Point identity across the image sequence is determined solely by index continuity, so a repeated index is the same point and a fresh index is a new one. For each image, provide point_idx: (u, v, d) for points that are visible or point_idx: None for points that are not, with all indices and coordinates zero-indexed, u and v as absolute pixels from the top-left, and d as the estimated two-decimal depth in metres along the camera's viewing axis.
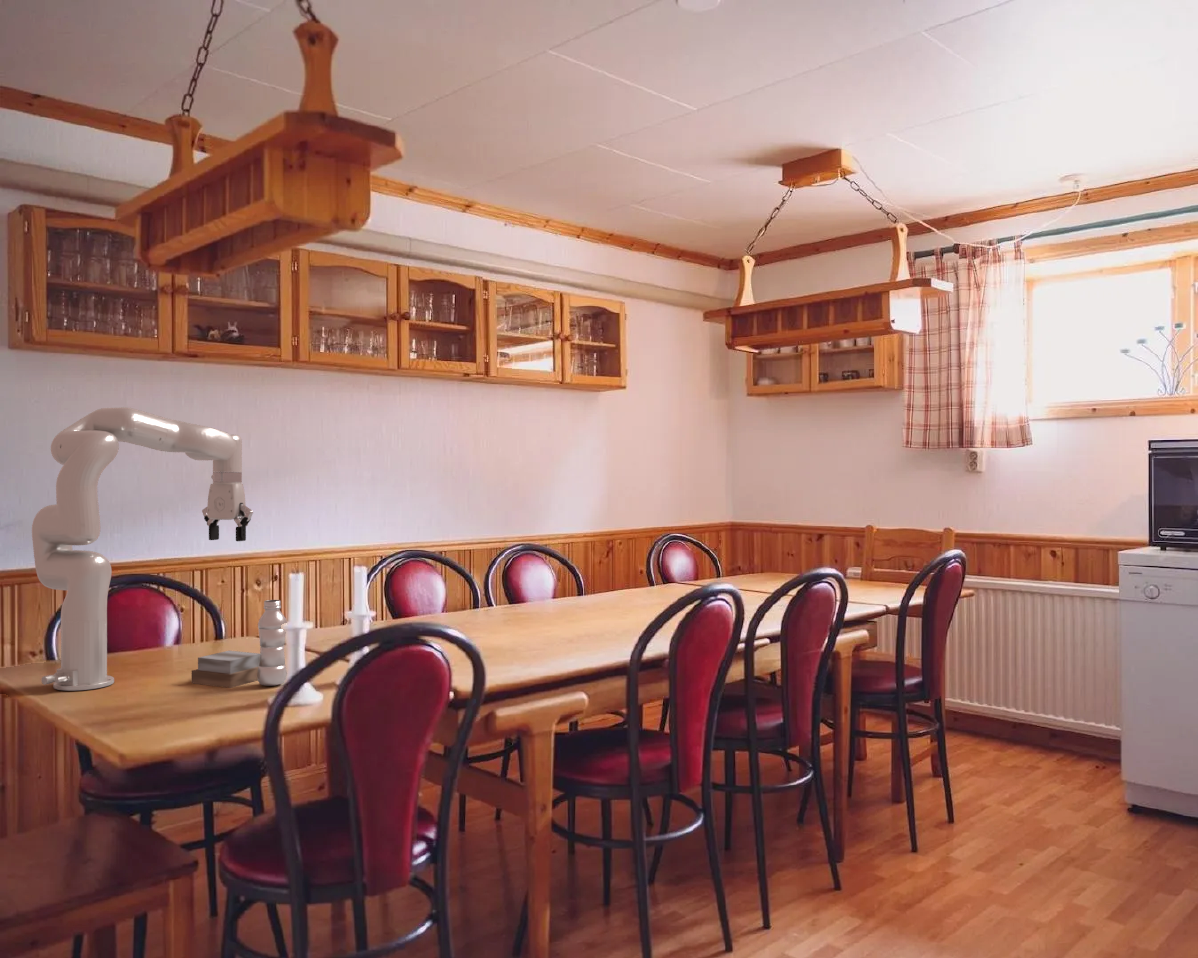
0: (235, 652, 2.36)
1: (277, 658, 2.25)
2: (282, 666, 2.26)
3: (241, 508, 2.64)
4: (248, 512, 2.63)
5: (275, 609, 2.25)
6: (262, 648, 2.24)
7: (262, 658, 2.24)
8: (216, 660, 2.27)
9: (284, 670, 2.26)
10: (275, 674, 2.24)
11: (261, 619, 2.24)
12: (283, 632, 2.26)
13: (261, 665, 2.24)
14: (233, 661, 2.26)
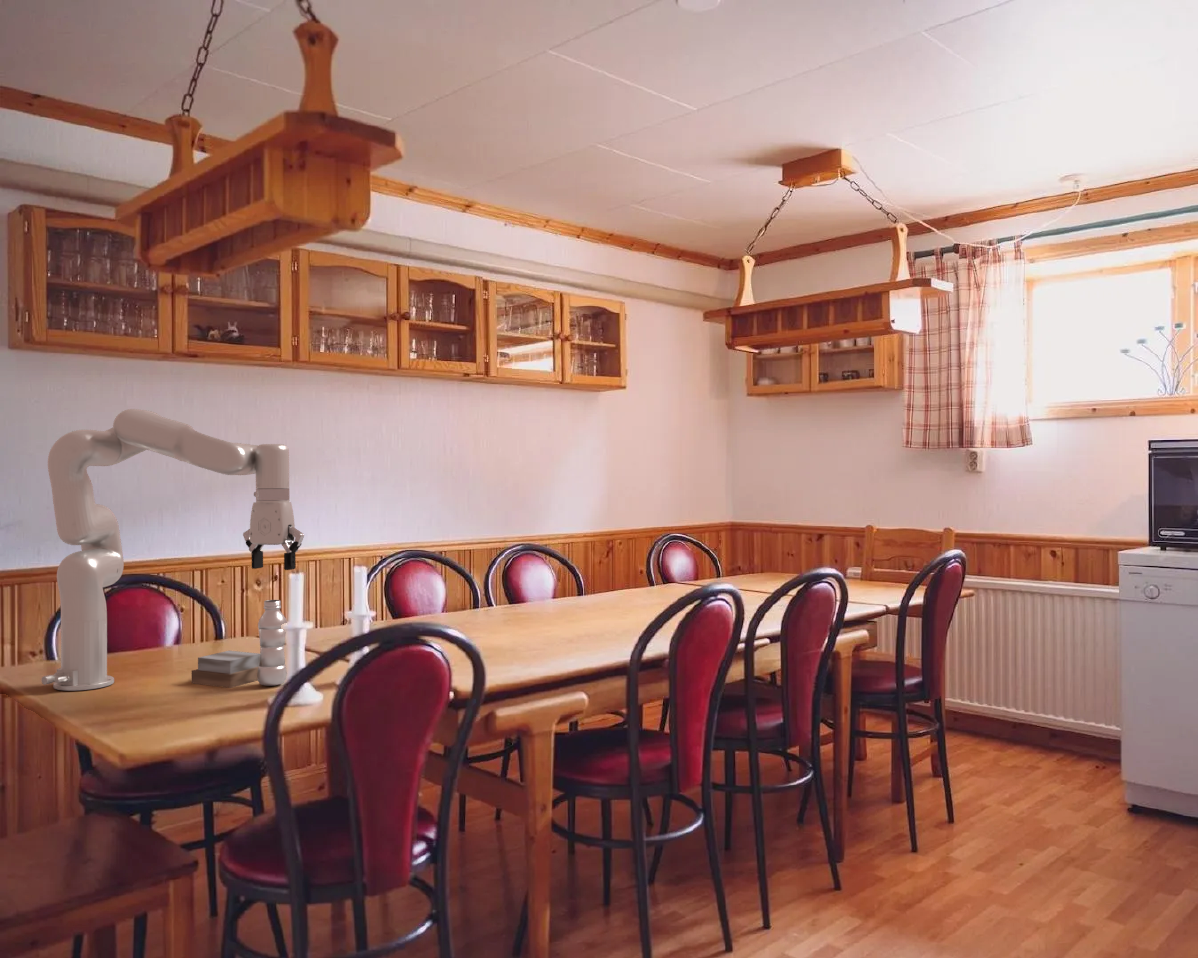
0: (235, 652, 2.36)
1: (277, 658, 2.25)
2: (282, 666, 2.26)
3: (290, 531, 2.24)
4: (299, 536, 2.23)
5: (275, 609, 2.25)
6: (262, 648, 2.24)
7: (262, 658, 2.24)
8: (216, 660, 2.27)
9: (284, 670, 2.26)
10: (275, 674, 2.24)
11: (261, 619, 2.24)
12: (283, 632, 2.26)
13: (261, 665, 2.24)
14: (233, 661, 2.26)
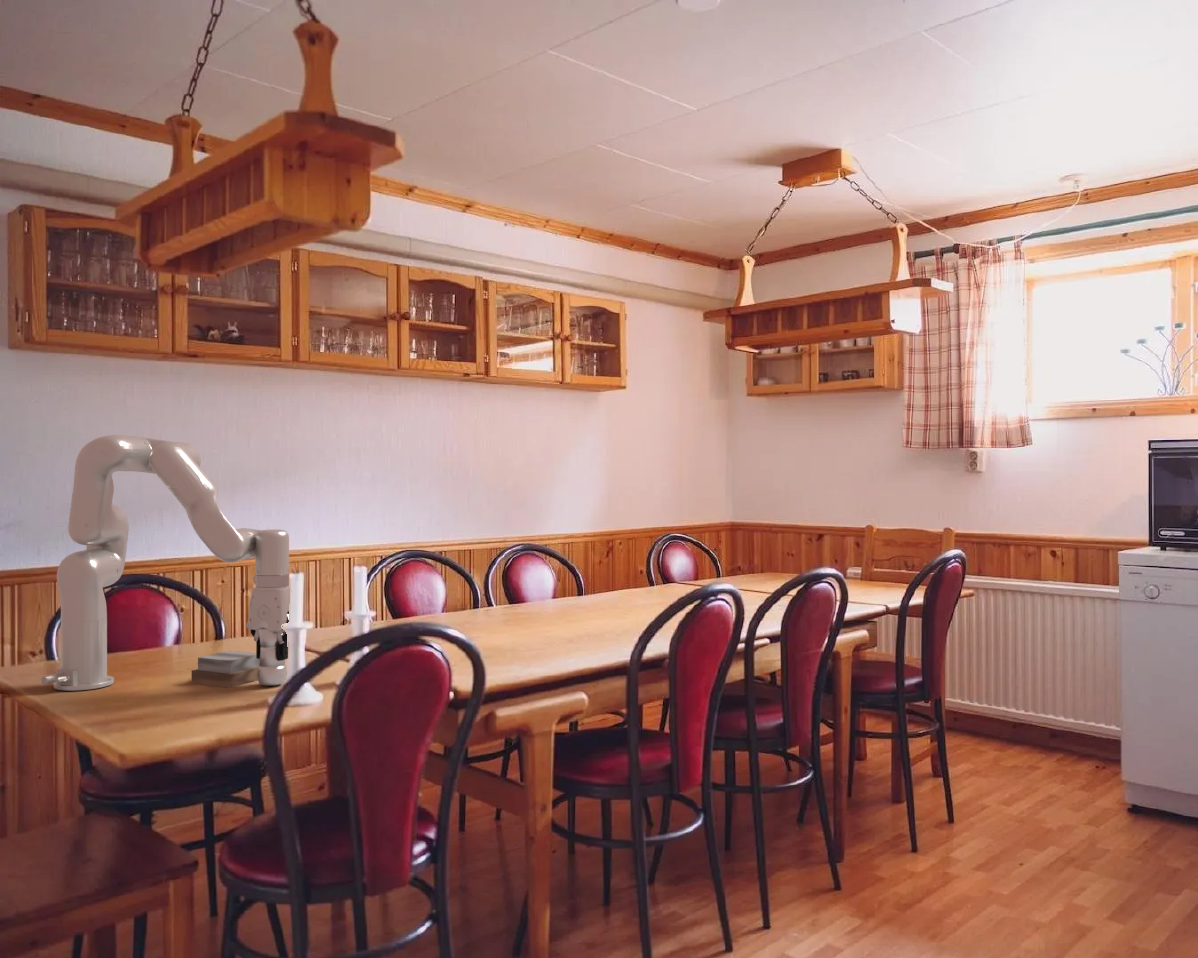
0: (235, 652, 2.36)
1: None
2: (282, 666, 2.26)
3: (287, 621, 2.24)
4: None
5: None
6: (262, 648, 2.24)
7: (262, 658, 2.24)
8: (216, 660, 2.27)
9: (284, 670, 2.26)
10: (275, 674, 2.24)
11: None
12: (283, 632, 2.26)
13: (261, 665, 2.24)
14: (233, 661, 2.26)
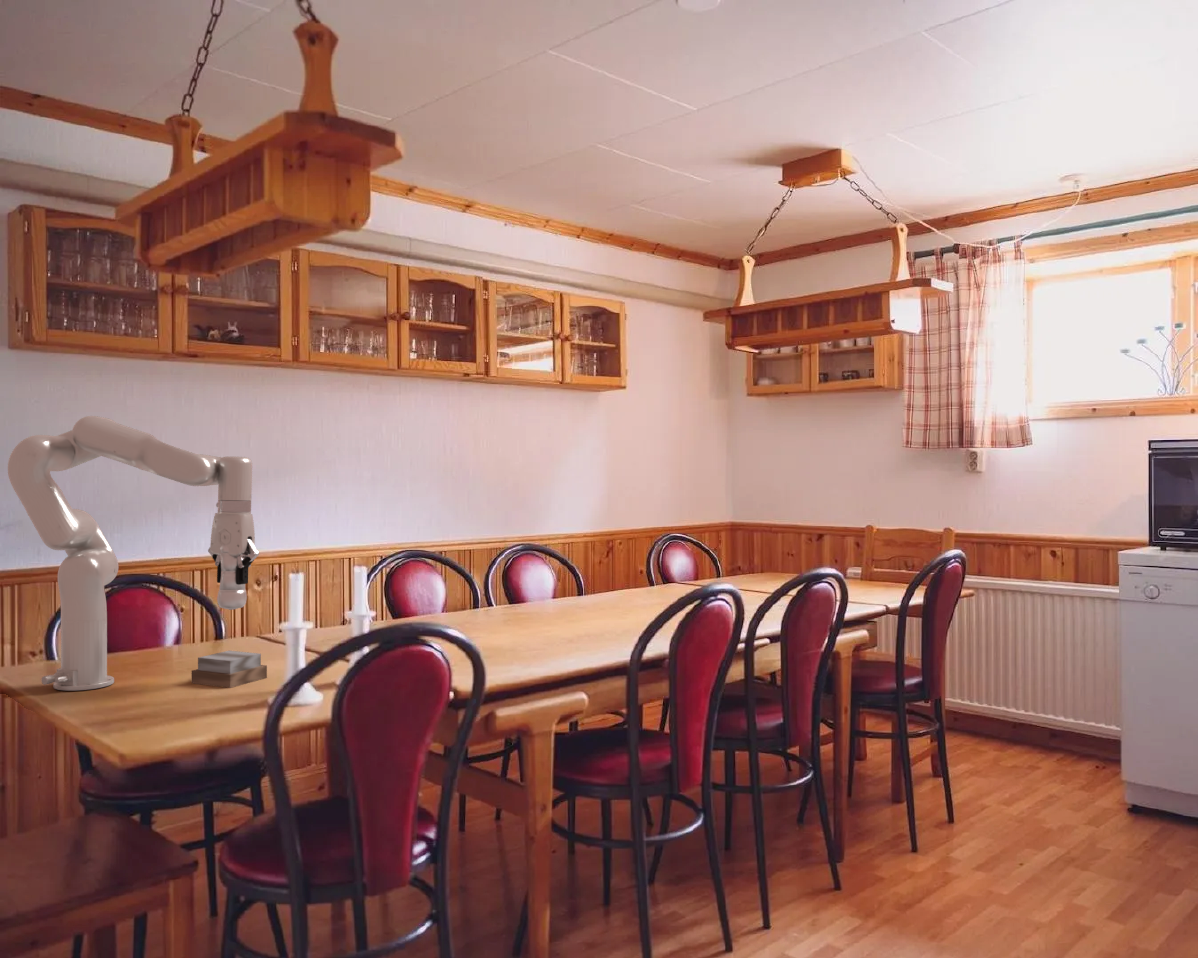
0: (235, 652, 2.36)
1: None
2: (242, 590, 2.30)
3: (247, 545, 2.28)
4: (253, 554, 2.27)
5: None
6: (222, 572, 2.29)
7: (222, 581, 2.29)
8: (216, 660, 2.27)
9: (244, 594, 2.30)
10: (234, 597, 2.28)
11: None
12: (244, 557, 2.30)
13: (221, 588, 2.29)
14: (233, 661, 2.26)
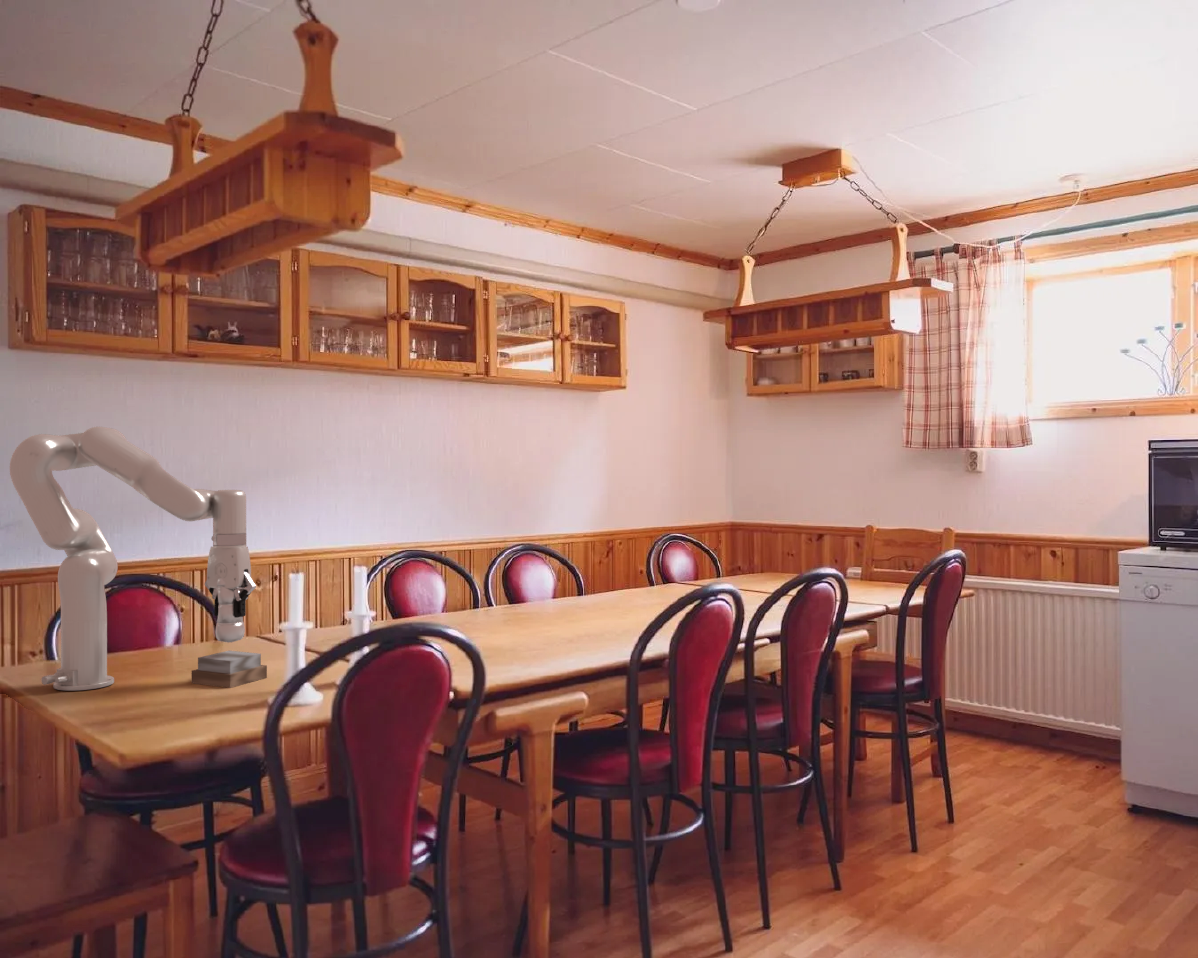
0: (235, 652, 2.36)
1: None
2: (240, 623, 2.31)
3: (244, 578, 2.29)
4: (250, 586, 2.28)
5: None
6: (220, 605, 2.29)
7: (220, 614, 2.29)
8: (216, 660, 2.27)
9: (242, 627, 2.31)
10: (233, 630, 2.29)
11: None
12: (241, 590, 2.31)
13: (219, 622, 2.29)
14: (233, 661, 2.26)
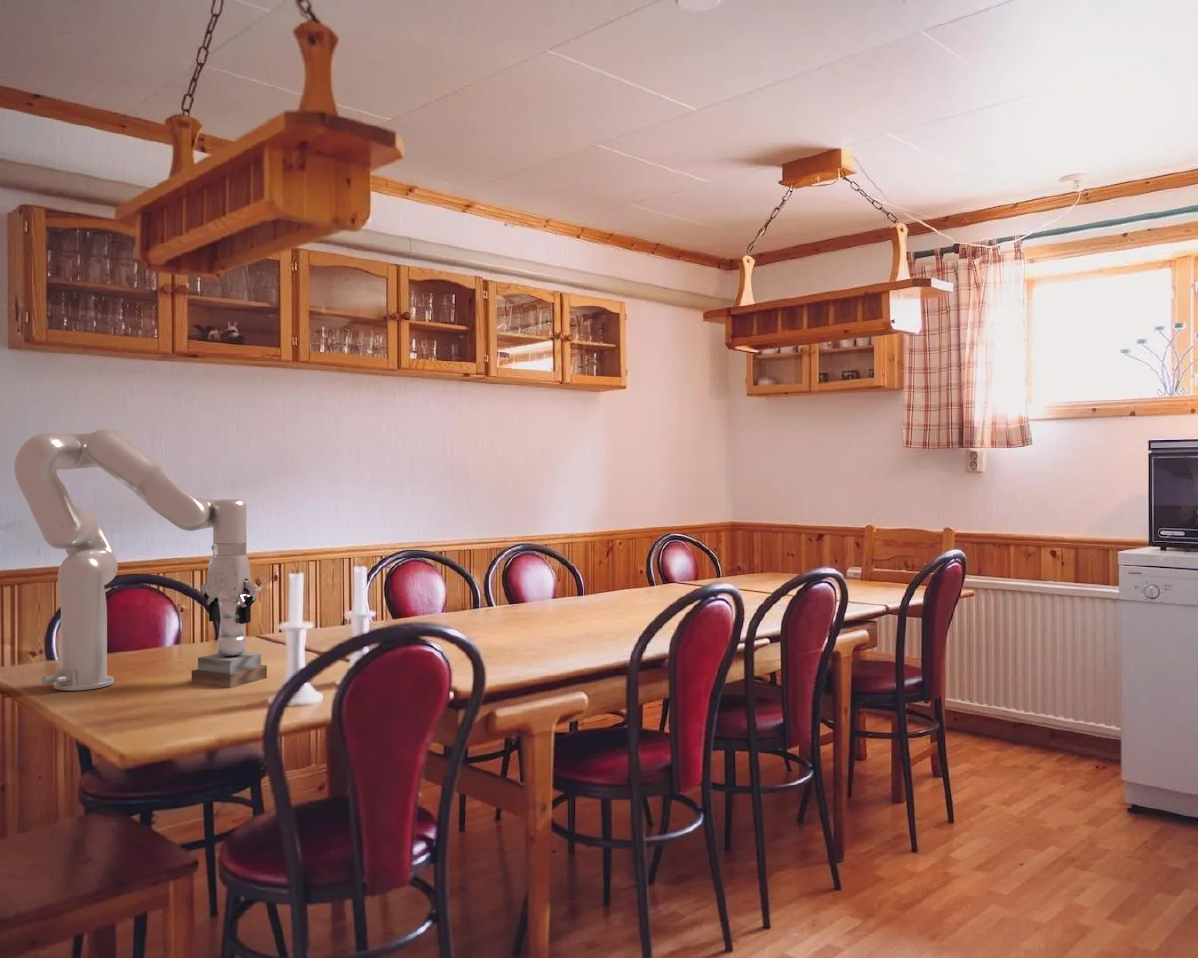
0: None
1: (236, 629, 2.29)
2: (241, 637, 2.30)
3: (246, 585, 2.29)
4: (253, 591, 2.28)
5: None
6: (222, 619, 2.29)
7: (222, 628, 2.29)
8: (216, 660, 2.27)
9: (243, 641, 2.31)
10: (234, 644, 2.29)
11: (221, 591, 2.29)
12: None
13: (221, 636, 2.29)
14: (233, 661, 2.26)
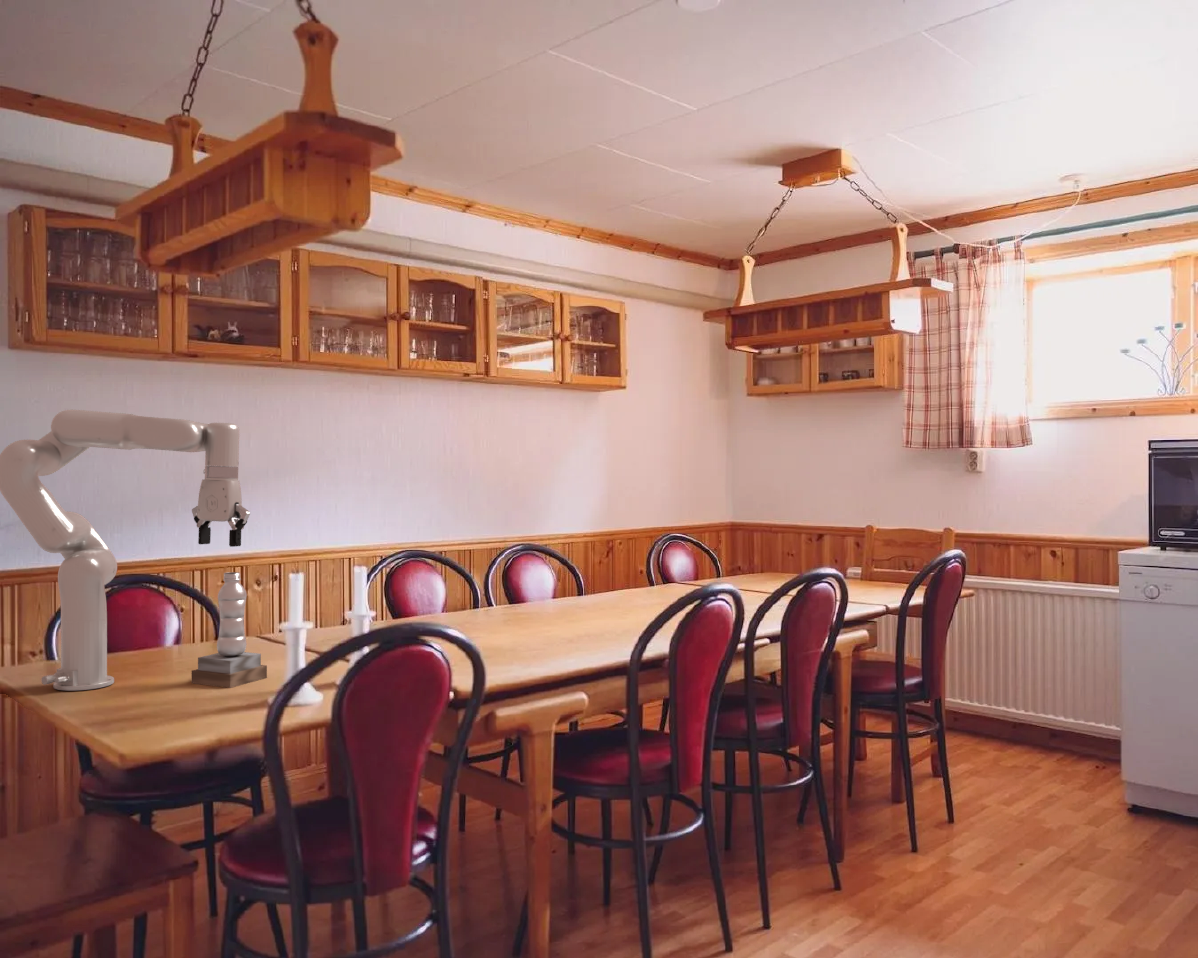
0: None
1: (236, 629, 2.29)
2: (241, 637, 2.30)
3: (236, 508, 2.28)
4: (244, 513, 2.27)
5: (234, 581, 2.30)
6: (222, 619, 2.29)
7: (222, 628, 2.29)
8: (216, 660, 2.27)
9: (243, 641, 2.31)
10: (234, 644, 2.29)
11: (221, 591, 2.29)
12: (242, 604, 2.30)
13: (221, 636, 2.29)
14: (233, 661, 2.26)
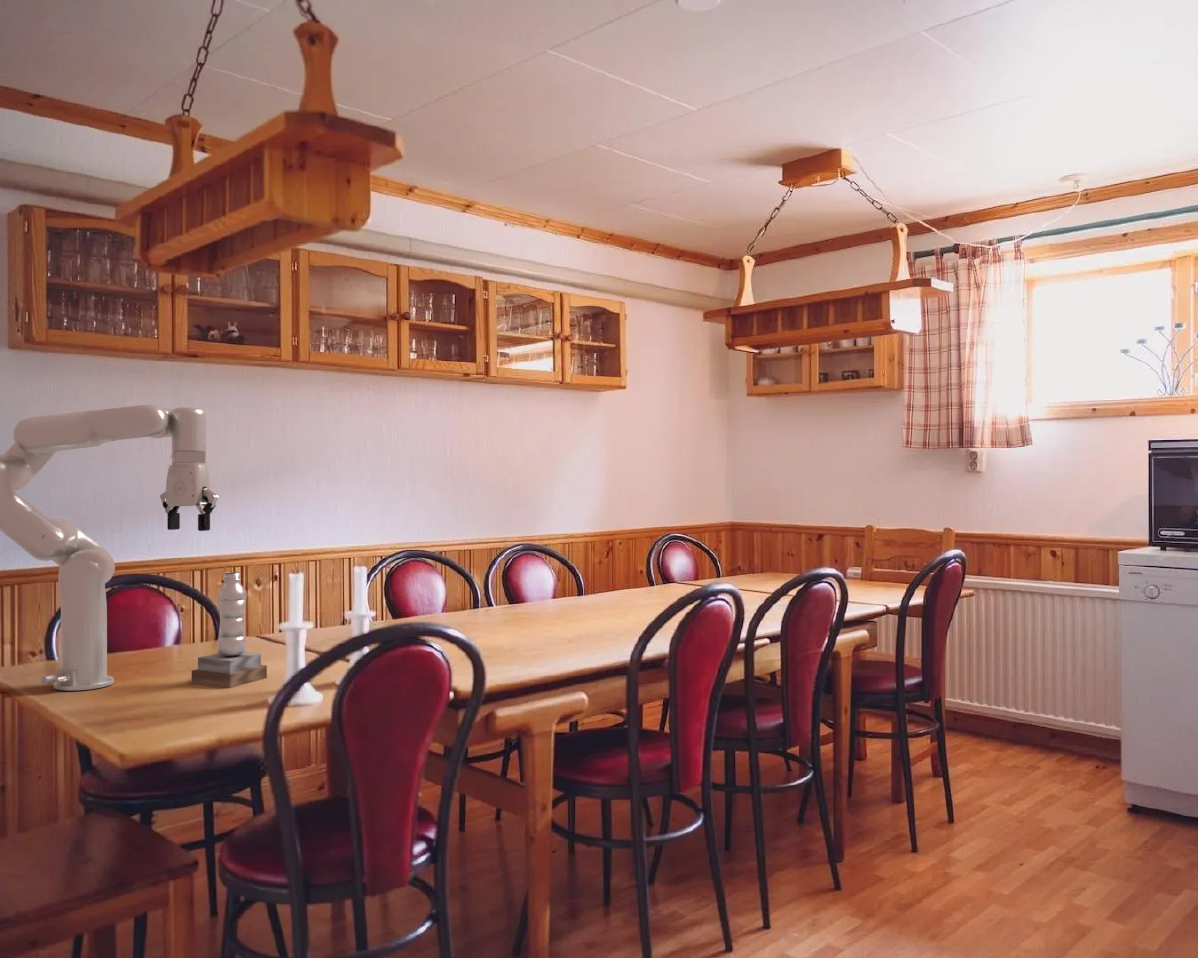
0: None
1: (236, 629, 2.29)
2: (241, 637, 2.30)
3: (204, 493, 2.28)
4: (212, 497, 2.27)
5: (234, 581, 2.30)
6: (222, 619, 2.29)
7: (222, 628, 2.29)
8: (216, 660, 2.27)
9: (243, 641, 2.31)
10: (234, 644, 2.29)
11: (221, 591, 2.29)
12: (242, 604, 2.30)
13: (221, 636, 2.29)
14: (233, 661, 2.26)
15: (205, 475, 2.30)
